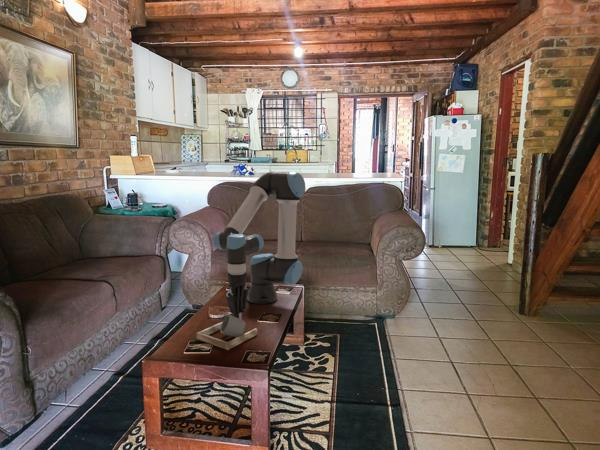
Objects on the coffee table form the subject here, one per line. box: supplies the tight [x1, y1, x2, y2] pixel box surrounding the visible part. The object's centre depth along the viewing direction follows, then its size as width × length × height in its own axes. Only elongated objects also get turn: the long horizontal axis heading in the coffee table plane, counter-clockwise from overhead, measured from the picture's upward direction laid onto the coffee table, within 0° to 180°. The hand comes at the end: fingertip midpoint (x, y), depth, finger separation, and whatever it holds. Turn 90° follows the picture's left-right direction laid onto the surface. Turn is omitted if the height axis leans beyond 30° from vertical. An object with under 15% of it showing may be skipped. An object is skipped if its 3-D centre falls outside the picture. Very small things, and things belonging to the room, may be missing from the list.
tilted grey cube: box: [220, 313, 247, 338], centre depth 166 cm, size 11×8×8 cm
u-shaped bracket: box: [196, 321, 258, 351], centre depth 167 cm, size 17×17×2 cm
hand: (238, 327), depth 172 cm, fingers closed
